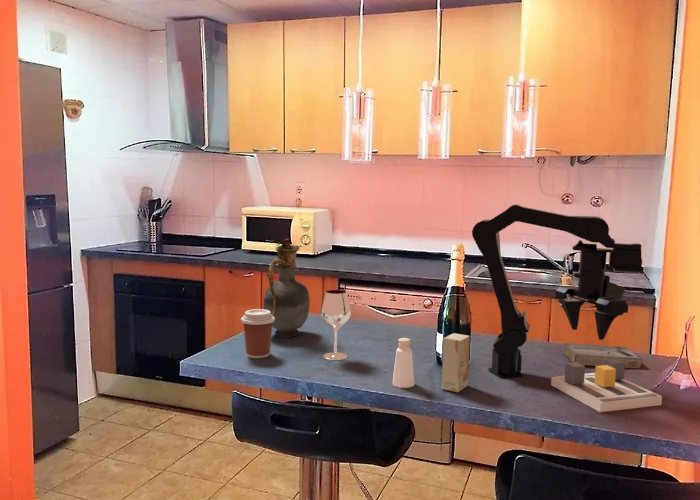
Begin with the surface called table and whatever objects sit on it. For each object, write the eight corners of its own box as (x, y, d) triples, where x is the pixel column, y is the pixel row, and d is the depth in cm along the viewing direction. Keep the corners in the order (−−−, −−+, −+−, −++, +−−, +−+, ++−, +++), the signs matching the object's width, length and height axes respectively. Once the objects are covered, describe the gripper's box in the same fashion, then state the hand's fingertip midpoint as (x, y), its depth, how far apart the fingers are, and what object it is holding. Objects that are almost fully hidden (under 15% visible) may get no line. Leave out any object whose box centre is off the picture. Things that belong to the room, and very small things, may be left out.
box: (562, 353, 168) (563, 342, 167) (625, 356, 167) (626, 346, 166) (573, 366, 157) (575, 354, 157) (641, 370, 156) (642, 358, 156)
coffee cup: (265, 361, 158) (265, 316, 156) (235, 357, 161) (234, 313, 159) (280, 351, 166) (280, 309, 165) (251, 348, 169) (250, 307, 168)
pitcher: (313, 330, 191) (313, 236, 187) (286, 345, 173) (286, 242, 169) (282, 326, 194) (282, 235, 191) (253, 341, 176) (252, 240, 173)
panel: (599, 412, 126) (601, 382, 125) (551, 385, 142) (552, 359, 141) (661, 404, 131) (663, 376, 130) (607, 379, 147) (609, 354, 146)
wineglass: (315, 359, 160) (315, 293, 158) (327, 351, 168) (328, 287, 166) (343, 362, 157) (344, 295, 155) (354, 354, 165) (355, 290, 163)
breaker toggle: (603, 387, 134) (604, 370, 134) (594, 382, 137) (595, 366, 137) (614, 386, 135) (615, 369, 135) (605, 381, 138) (606, 365, 137)
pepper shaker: (417, 382, 143) (419, 337, 142) (410, 389, 138) (411, 343, 137) (396, 379, 145) (397, 334, 144) (388, 386, 140) (389, 340, 139)
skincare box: (458, 393, 136) (460, 341, 135) (440, 389, 138) (442, 338, 137) (468, 385, 142) (470, 334, 140) (451, 381, 144) (453, 332, 142)
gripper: (650, 275, 134) (644, 342, 136) (592, 263, 152) (588, 323, 154) (610, 277, 131) (604, 346, 133) (555, 264, 149) (551, 325, 150)
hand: (587, 334), depth 143 cm, fingers open, 9 cm apart
